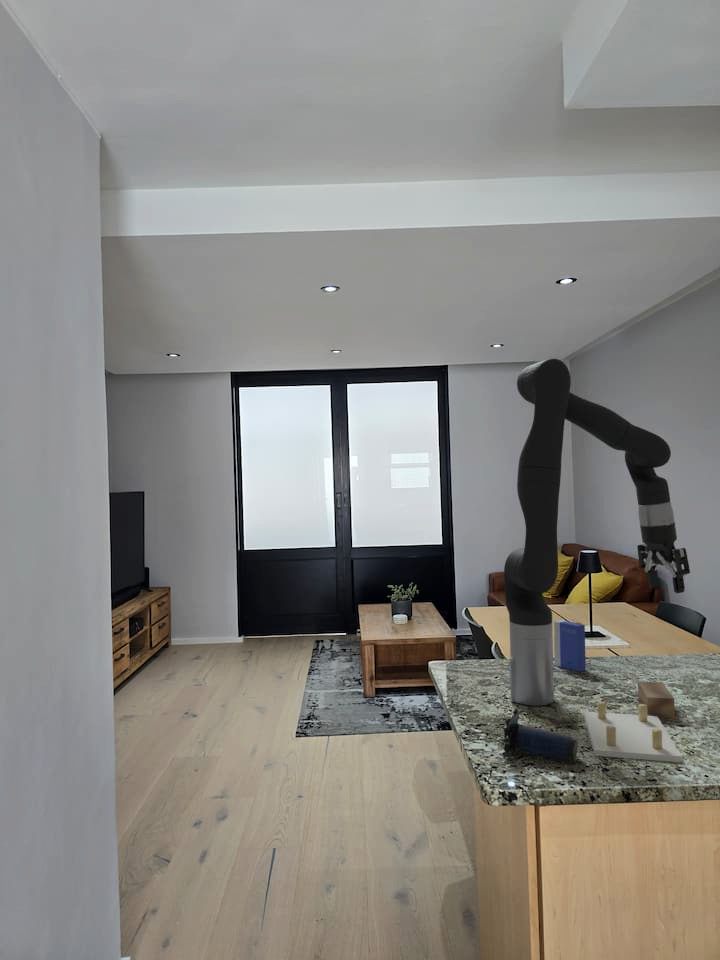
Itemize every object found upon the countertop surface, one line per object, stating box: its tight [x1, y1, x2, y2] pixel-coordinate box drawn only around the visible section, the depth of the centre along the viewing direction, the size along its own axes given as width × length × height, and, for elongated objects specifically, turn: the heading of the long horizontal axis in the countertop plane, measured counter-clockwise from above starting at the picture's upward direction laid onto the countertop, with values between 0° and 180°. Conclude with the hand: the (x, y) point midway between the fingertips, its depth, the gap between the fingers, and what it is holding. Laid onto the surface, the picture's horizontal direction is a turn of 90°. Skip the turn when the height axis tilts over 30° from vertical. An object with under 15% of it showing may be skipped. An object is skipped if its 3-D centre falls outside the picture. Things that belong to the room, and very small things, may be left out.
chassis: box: [583, 701, 683, 763], centre depth 122 cm, size 14×20×4 cm
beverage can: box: [503, 708, 579, 764], centre depth 115 cm, size 9×8×12 cm
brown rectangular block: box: [637, 681, 676, 721], centre depth 137 cm, size 5×11×4 cm, turn 166°
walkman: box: [553, 619, 587, 673], centre depth 170 cm, size 8×3×12 cm, turn 32°
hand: (666, 589), depth 154 cm, fingers open, 8 cm apart
